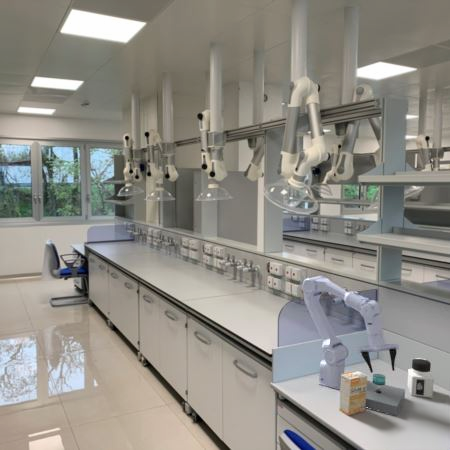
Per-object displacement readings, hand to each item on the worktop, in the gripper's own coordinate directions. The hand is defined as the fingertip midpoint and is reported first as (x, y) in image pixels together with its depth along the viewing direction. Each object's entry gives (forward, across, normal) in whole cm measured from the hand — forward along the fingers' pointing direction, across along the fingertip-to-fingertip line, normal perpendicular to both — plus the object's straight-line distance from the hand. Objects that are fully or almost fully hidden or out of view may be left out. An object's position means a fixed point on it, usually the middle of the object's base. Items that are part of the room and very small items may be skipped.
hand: (382, 371), depth 163 cm
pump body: (+11, -4, +1) cm, 12 cm away
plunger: (+8, -3, +1) cm, 8 cm away
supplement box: (+10, -12, -10) cm, 19 cm away
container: (+13, +12, +15) cm, 23 cm away
